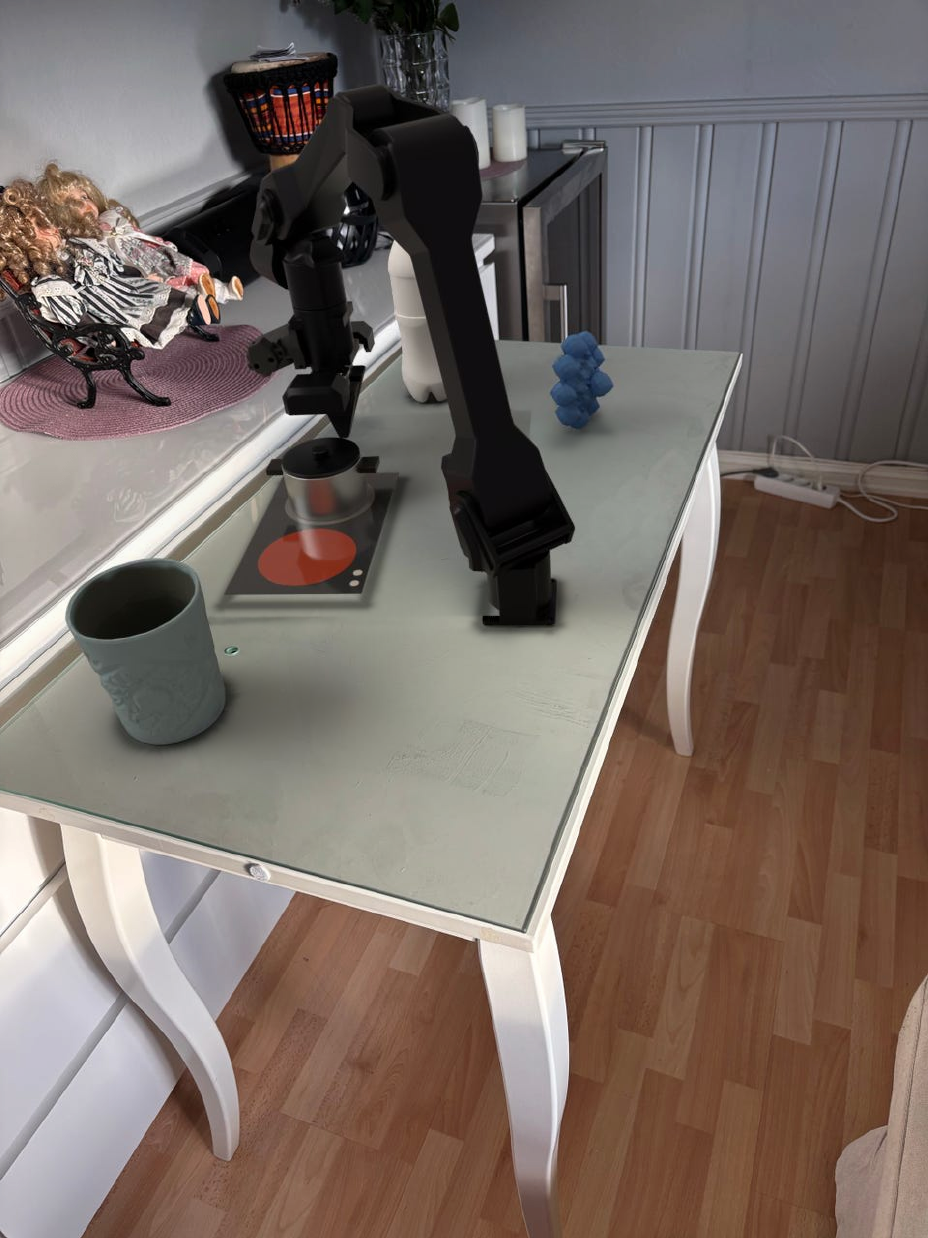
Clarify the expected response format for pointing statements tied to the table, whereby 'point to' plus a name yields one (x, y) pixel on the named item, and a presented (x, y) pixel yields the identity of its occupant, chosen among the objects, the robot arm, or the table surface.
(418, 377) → the water bottle
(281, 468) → the pot
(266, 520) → the hob
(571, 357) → the grapes
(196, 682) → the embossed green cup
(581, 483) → the table surface
